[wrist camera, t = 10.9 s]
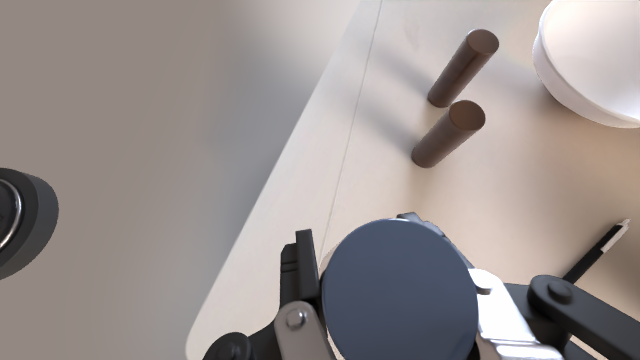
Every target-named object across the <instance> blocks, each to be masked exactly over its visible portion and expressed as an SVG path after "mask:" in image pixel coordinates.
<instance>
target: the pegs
mask: <svg viewBox="0 0 640 360" xmlns="http://www.w3.org/2000/svg"><path fill="white" fill-rule="evenodd" d="M498 47H499V41H498V39H497V37H496V36H495V35H494V34H493V33H491V32H490V31H487V30H484V29H475V30H472V31H471V32H469V33H468V35H467V36H466V38H465V39H464V41H463V42H462V44H461V45H460V47H459V48H458V50H457V51H456V53H455V54H454V56H453V57H452V59H451V60H450V61H449V63H448V64H447V66H446V67H445V69H444V70H443V72H442V73H441V75H440V76H439V78H438V79H437V81H436V82H435V84H434V85H433V87H432V88H431V90H430V91H429V93H428V99H429V101H430V102H431V104H433V105H434V106H436V107H439V108H445V107H448V106H449V105H450V104H451V103H452V102H453V101H454V100H455V98H456V97H457V96H458V95H459V94H460V93H461V91H462V90H463V89H464V88H465V87H466V86H467V84H468V83H469V82H470V81H471V80H472V79H473V77H474V76H475V75H476V74H477V73H478V72H479V71H480V69H481V68H482V67H483V66H484V65H485V64H486V62H487V61H488V60H489V59H490V58H491V57H492V55H493V54H494V53H495V52H496V51H497V49H498ZM484 123H485V114H484V111H483V110H482V108H481V107H480V106H479V105H477V104H476V103H474V102H472V101H469V100H460V101H457V102H455V103H453V104H452V105H451V106H450V108H449V109H448V110H447V111H446V112H445V113H444V114H443V116H442V117H441V118H440V119H439V120H438V121H437V122H436V124H435V125H434V126H433V127H432V128H431V129H430V131H429V132H428V133H427V134H426V135H425V136H424V137H423V139H422V140H421V141H420V142H419V143H418V144H417V145H416V147H415V148H414V149H413V151H412V158H413V160H414V162H415V163H416V164H417V165H418V166H420V167H422V168H431V167H433V166H435V165H436V164H437V163H439V162H440V161H441V160H442V159H444V158H445V157H446V156H447V155H448V154H450V153H451V152H452V151H453V150H455V149H456V148H457V147H458V146H460V145H461V144H462V143H463V142H465V141H466V140H467V139H468V138H470V137H471V136H472V135H473V134H475V133H476V132H477V131H478V130H479V129H481V128H482V127H483V125H484Z"/></svg>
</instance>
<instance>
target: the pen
mask: <svg viewBox="0 0 640 360" xmlns="http://www.w3.org/2000/svg"><path fill="white" fill-rule="evenodd" d="M630 221H631V220H630V219H625V220H624V221H623V222H622V223H618V224H616V225H615V226H614V227H613V228H612V229H611V230H610V231H609V232H608V233H607V234H606V235H605V236H604V237H603V238H602V239H601V240H600V241H599V242H598V243H597V244H596V245H595V246H594V247H593V248H592V249H591V250H590V251H589V252H588V253H587V254H586V255H585V256H584V257H583V258H582V259H581V260H580V261H579V262H578V263H577V264H576V265H575V266H574V267H573V268H572V269H571V270H570V271H569V272H568V273H567V274H566V275H565V276H564V277H563V278H562V279H563V280H566V281H568V282H570V283H571V284H574V283H575V282H576V281H577V280H578V279H579V278H580V277H581V276H582V275H583V274H584V273H585V272H586V271H587V270H588V269H589V268H590V267H591V266H592V265H593V264H594V263H595V262H596V261H597V259H598V258H599V257H600V256H601V255H602V254H603V253H606V252H607V251H608V250H609V249H610V248H611V246H612V245H613V244H614V243H615V242H616V241H617V240H618V239H619V238H620V237H621V236H622V235H623V234H624V233H625V232H626V231H627V230H628V229H629V227H628V226H627V224H628V223H629V222H630Z"/></svg>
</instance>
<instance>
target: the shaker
mask: <svg viewBox="0 0 640 360" xmlns="http://www.w3.org/2000/svg"><path fill="white" fill-rule="evenodd" d="M318 275H319V281H320V288H321V302H322V308H323V313H324V318H325V322H326V325H327V328H328V331H329V334H330V336H331V338H332V340H333V342H334V344H335V346H336V347H337V349H338V351H339V352H340V354H341V355H342V356H343V357H344V359H345V360H466V359H467V357H468V355H469V353H470V351H471V349H472V347H473V344H474V341H475V339H476V334H477V330H478V322H479V303H478V297H477V292H476V288H475V284H474V281H473V279H472V276H471V274H470V271H469V269H468V268H467V266H466V264H465V262H464V261H463V259H462V258H461V256H460V255H459V253H458V252H457V251H456V250H455V249H454V247H453V246H452V245H451V244H450V243H449V242H448V241H447V240H445V239H444V238H443V237H442V236H441V235H439V234H438V233H437V232H435V231H433V230H432V229H430V228H428V227H426V226H424V225H422V224H419V223H417V222H413V221H410V220H405V219H396V218H388V219H380V220H376V221H372V222H369V223H367V224H364V225H362V226H360V227H358V228H357V229H355V230H354V231H352V232H351V233H350V234H348V235H347V236H346V237H345V238H344V239H343V240H342V241H340V242H339V243H338V244H337V245H336V246H335V247H334V248H332V249H331V250H330V251H329V252H328V253H327V254H326V256H325V257H324V258H323V260H322V262H321V265H320V268H319V273H318Z"/></svg>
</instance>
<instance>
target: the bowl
mask: <svg viewBox="0 0 640 360" xmlns="http://www.w3.org/2000/svg"><path fill="white" fill-rule="evenodd" d="M532 55H533V62H534V66H535V69H536V71H537V74H538V76H539V78H540V79H541V81H542V82H543V84H544V86H545V87H546V88H547V90H548V91H549V92H550V93H551V94H552V96H553V97H554V98H555V99H556V100H558V101H559V102H560V103H561V104H562V105H564V106H566V107H567V108H569V109H570V110H572V111H574V112H575V113H577V114H578V115H580V116H582V117H585V118H587V119H589V120H591V121H593V122H597V123H600V124H603V125H607V126H611V127H618V128H639V127H640V0H554V1H552V2H551V3H550V4H549V6H548V7H547V8H546V9H545V10H544V12H543V15H542V17H541V19H540V23H539V32H538V35H537V37H536V39H535V42H534V44H533V52H532Z"/></svg>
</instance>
